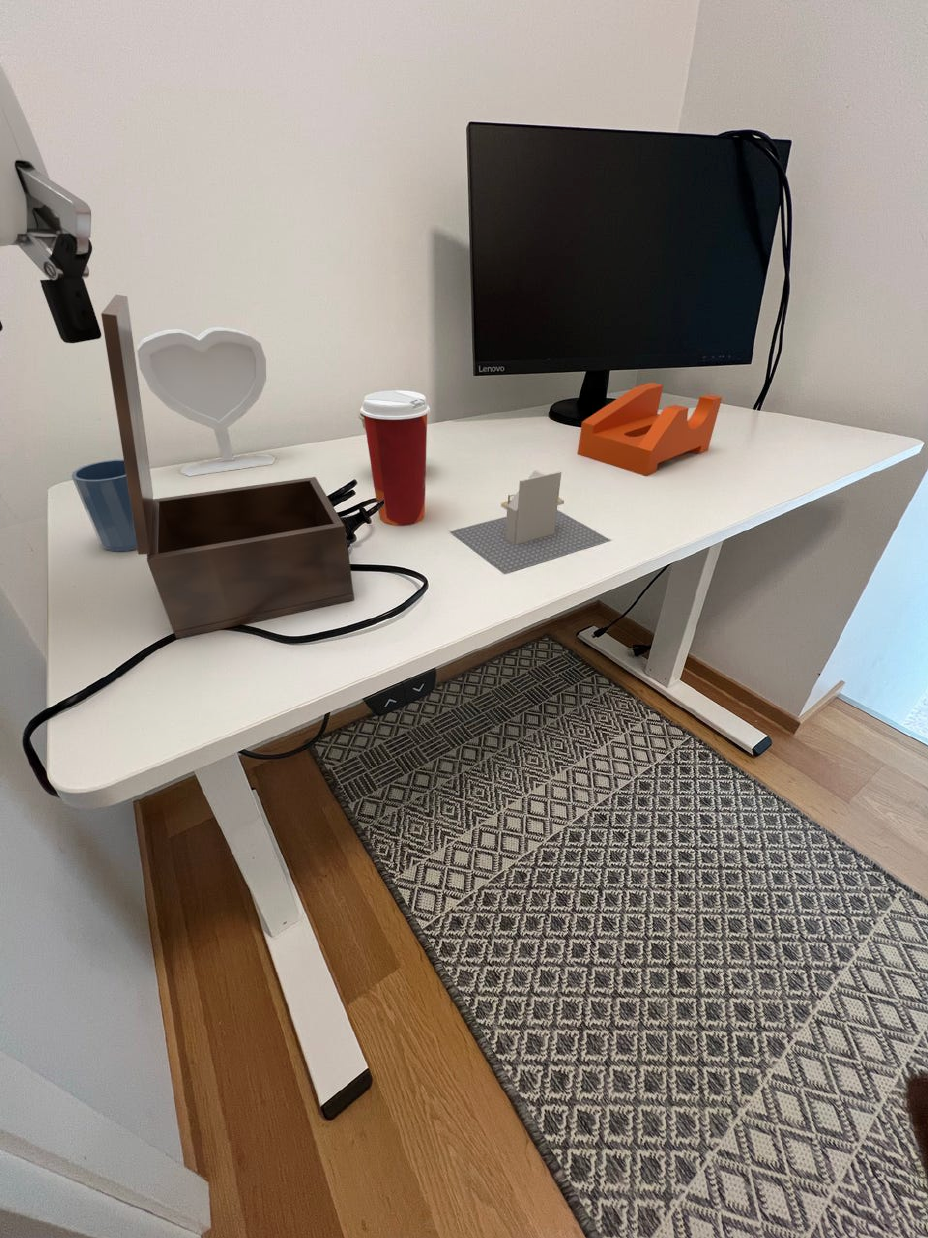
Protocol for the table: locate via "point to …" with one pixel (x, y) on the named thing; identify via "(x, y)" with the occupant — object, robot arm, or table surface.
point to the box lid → (129, 416)
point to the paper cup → (397, 452)
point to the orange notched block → (646, 430)
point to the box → (247, 555)
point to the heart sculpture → (207, 384)
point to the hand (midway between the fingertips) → (32, 336)
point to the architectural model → (530, 528)
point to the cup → (107, 503)
